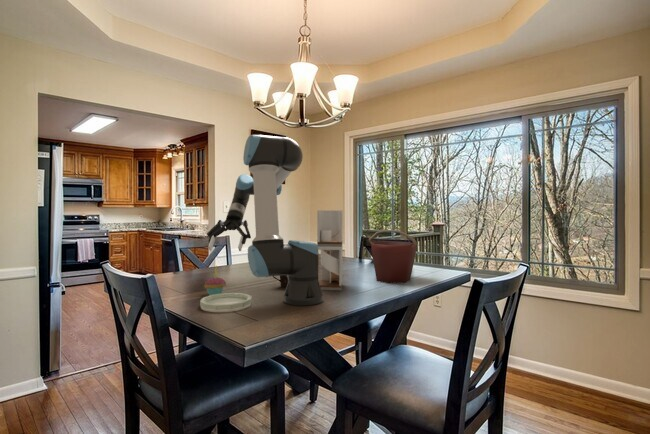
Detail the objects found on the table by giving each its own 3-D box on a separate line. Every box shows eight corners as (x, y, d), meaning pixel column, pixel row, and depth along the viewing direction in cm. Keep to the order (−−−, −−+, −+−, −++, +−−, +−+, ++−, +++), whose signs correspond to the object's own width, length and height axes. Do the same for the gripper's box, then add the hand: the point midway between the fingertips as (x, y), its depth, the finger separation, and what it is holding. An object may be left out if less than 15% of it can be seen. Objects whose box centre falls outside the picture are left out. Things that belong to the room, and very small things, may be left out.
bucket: (359, 279, 180) (359, 230, 179) (386, 273, 195) (386, 228, 194) (400, 287, 162) (400, 232, 161) (426, 280, 177) (426, 230, 176)
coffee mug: (298, 284, 166) (298, 263, 166) (295, 289, 157) (295, 266, 157) (274, 284, 167) (274, 263, 167) (270, 288, 158) (269, 266, 158)
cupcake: (207, 292, 150) (207, 264, 150) (227, 292, 151) (227, 264, 151) (202, 297, 142) (201, 267, 142) (223, 297, 143) (223, 267, 142)
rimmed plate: (260, 301, 136) (260, 295, 136) (232, 314, 119) (232, 307, 119) (221, 297, 142) (221, 291, 142) (189, 309, 125) (189, 302, 125)
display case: (319, 284, 167) (319, 210, 166) (342, 284, 166) (342, 210, 165) (317, 289, 156) (317, 210, 155) (341, 290, 155) (341, 210, 154)
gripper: (262, 219, 173) (253, 254, 159) (213, 219, 175) (200, 253, 161) (259, 209, 168) (250, 244, 153) (208, 208, 170) (194, 243, 156)
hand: (224, 249), depth 157 cm, fingers open, 13 cm apart
